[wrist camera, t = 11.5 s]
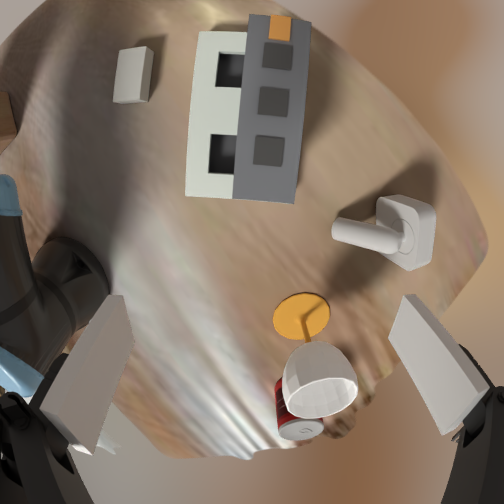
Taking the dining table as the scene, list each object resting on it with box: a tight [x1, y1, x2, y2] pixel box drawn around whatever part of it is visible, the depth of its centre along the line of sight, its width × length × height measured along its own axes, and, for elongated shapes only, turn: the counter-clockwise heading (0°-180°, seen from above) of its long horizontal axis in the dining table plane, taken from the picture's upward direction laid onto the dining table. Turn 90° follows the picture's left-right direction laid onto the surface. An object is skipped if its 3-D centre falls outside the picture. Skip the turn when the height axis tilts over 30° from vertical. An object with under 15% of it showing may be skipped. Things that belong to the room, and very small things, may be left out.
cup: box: [273, 293, 358, 418], centre depth 34 cm, size 9×9×16 cm
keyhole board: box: [185, 31, 289, 204], centre depth 28 cm, size 12×20×3 cm, turn 175°
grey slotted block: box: [232, 14, 311, 204], centre depth 24 cm, size 5×16×12 cm, turn 175°
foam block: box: [113, 46, 154, 104], centre depth 25 cm, size 4×7×3 cm, turn 175°
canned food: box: [275, 378, 324, 440], centre depth 43 cm, size 8×8×11 cm
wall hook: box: [332, 194, 436, 271], centre depth 31 cm, size 8×10×10 cm
